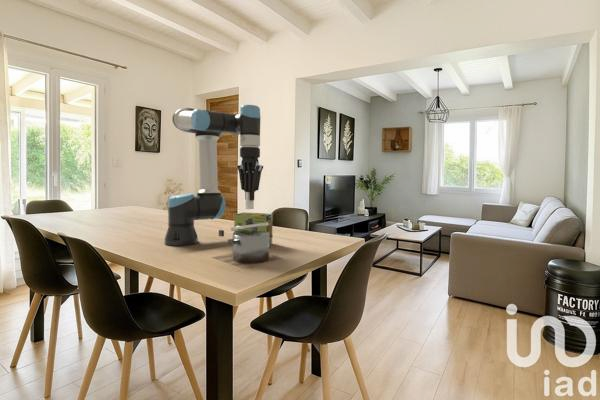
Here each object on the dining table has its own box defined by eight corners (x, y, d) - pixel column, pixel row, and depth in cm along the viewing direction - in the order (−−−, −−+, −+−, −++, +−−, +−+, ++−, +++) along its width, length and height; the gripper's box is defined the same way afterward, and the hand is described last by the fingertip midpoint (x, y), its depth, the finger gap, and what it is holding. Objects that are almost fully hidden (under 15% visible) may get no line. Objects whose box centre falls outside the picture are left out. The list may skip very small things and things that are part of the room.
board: (211, 260, 129) (211, 257, 129) (251, 252, 144) (251, 249, 144) (243, 271, 116) (243, 268, 116) (283, 261, 131) (283, 258, 130)
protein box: (266, 250, 147) (266, 216, 146) (233, 248, 150) (233, 214, 149) (272, 245, 158) (273, 213, 156) (242, 243, 161) (242, 211, 159)
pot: (216, 258, 127) (216, 230, 126) (255, 250, 142) (256, 225, 141) (242, 267, 117) (242, 236, 116) (281, 257, 131) (281, 230, 130)
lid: (223, 232, 128) (221, 223, 128) (252, 228, 139) (251, 219, 139) (246, 228, 118) (245, 218, 118) (276, 224, 128) (274, 215, 129)
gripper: (231, 147, 127) (231, 208, 129) (253, 145, 119) (252, 211, 120) (247, 148, 133) (246, 206, 135) (268, 147, 124) (268, 209, 126)
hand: (249, 208), depth 128 cm, fingers closed
